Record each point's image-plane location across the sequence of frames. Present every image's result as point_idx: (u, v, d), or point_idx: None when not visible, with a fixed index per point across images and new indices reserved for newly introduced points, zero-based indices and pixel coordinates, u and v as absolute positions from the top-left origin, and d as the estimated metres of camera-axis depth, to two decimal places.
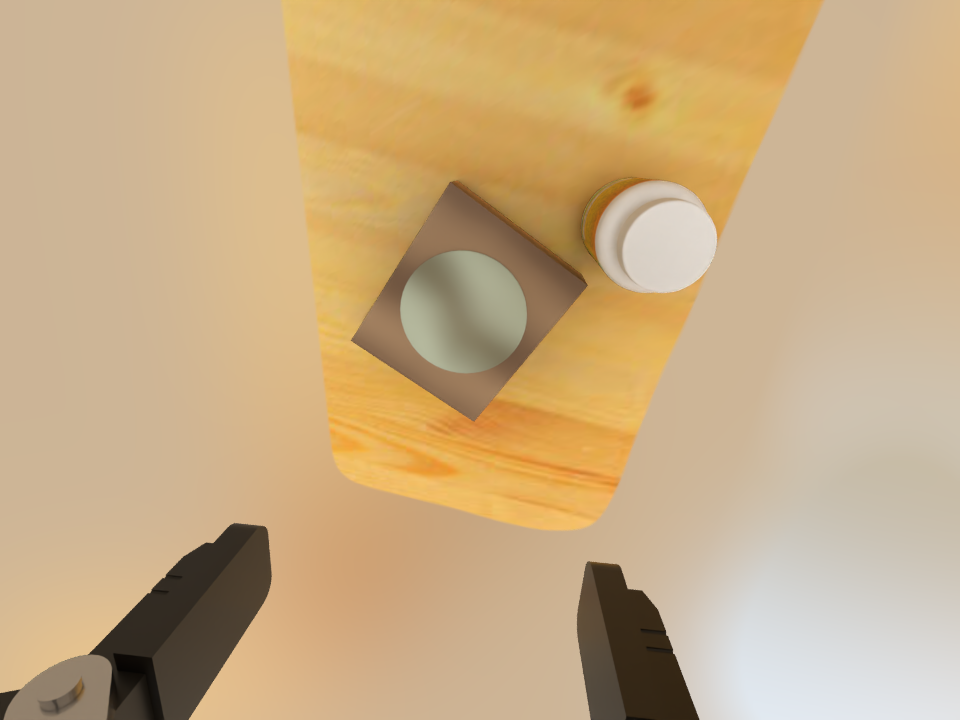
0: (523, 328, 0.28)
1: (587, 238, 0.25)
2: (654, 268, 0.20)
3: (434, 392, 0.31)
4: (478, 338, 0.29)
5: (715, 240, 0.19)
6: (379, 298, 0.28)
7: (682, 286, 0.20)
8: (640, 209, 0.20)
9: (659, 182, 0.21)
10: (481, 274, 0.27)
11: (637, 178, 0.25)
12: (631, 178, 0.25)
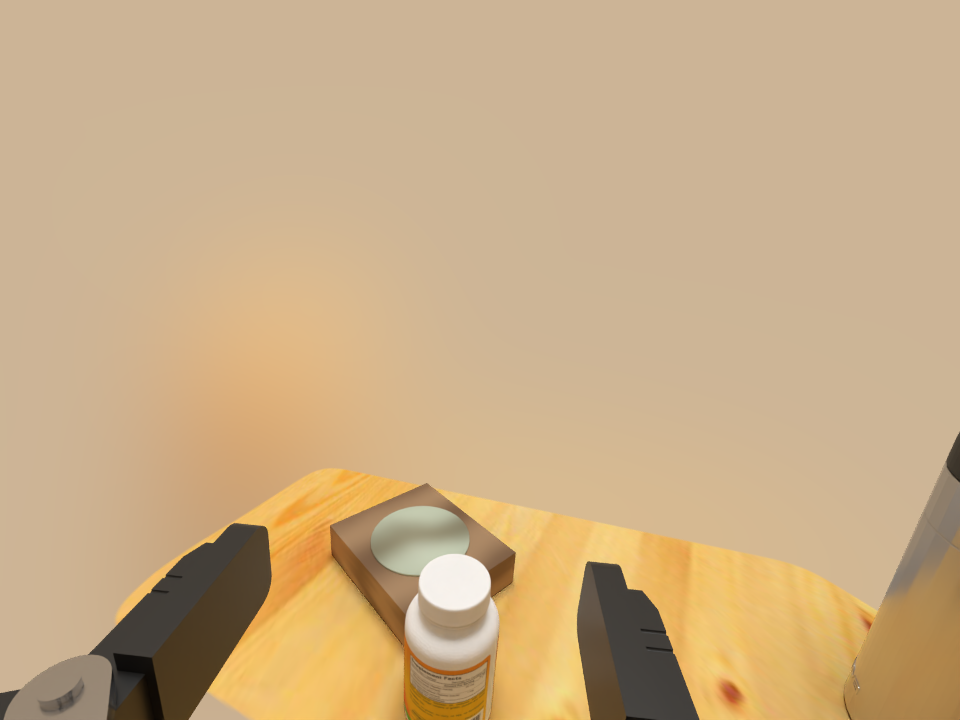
0: (394, 568, 0.33)
1: None
2: (443, 569, 0.25)
3: (368, 510, 0.40)
4: (398, 541, 0.36)
5: (452, 608, 0.23)
6: (449, 501, 0.42)
7: (421, 584, 0.24)
8: None
9: (498, 625, 0.25)
10: (447, 553, 0.35)
11: (493, 682, 0.26)
12: (493, 687, 0.27)
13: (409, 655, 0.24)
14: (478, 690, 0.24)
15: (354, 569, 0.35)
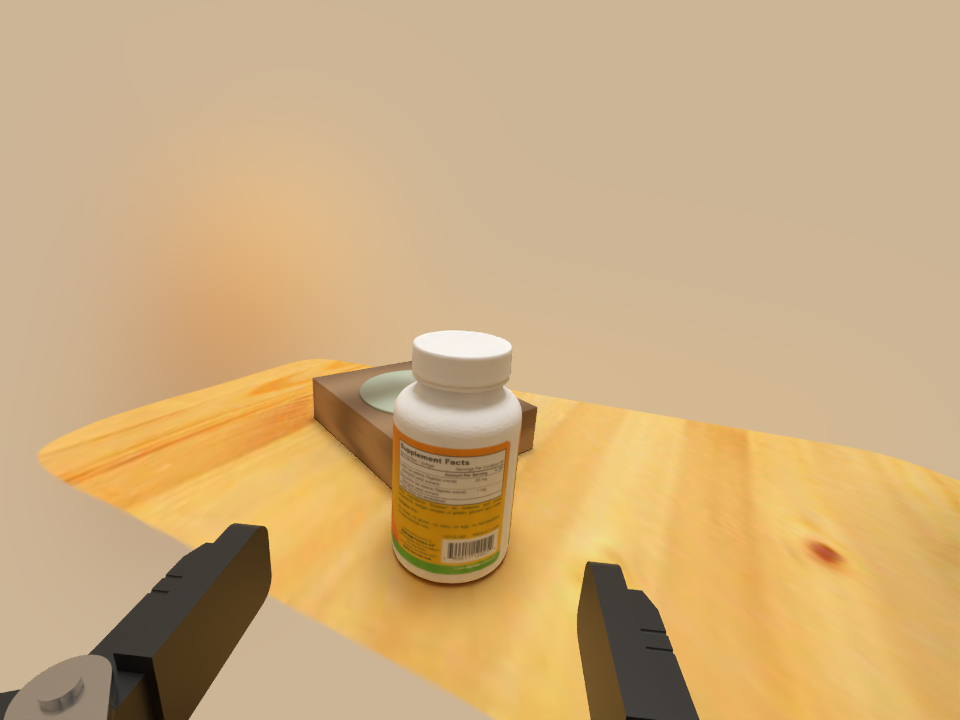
0: (386, 409, 0.27)
1: None
2: (446, 336, 0.19)
3: (359, 370, 0.33)
4: (394, 391, 0.30)
5: (459, 355, 0.16)
6: None
7: (417, 341, 0.18)
8: None
9: (520, 412, 0.18)
10: None
11: (512, 506, 0.20)
12: (511, 515, 0.20)
13: (398, 443, 0.18)
14: (492, 493, 0.18)
15: (338, 420, 0.29)
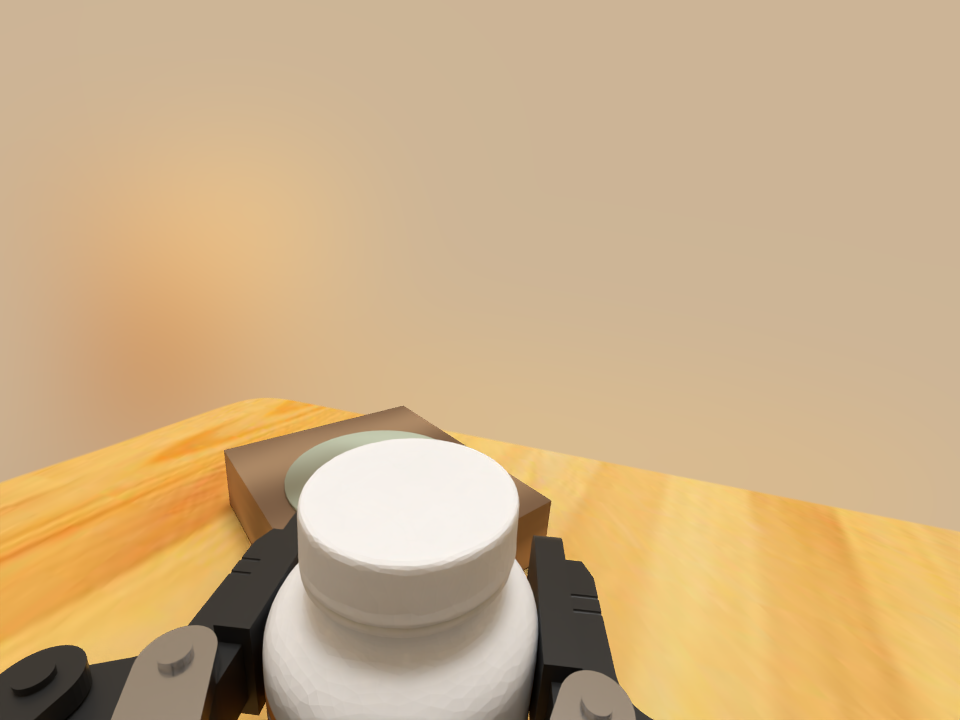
0: None
1: None
2: (382, 465, 0.09)
3: (298, 433, 0.24)
4: None
5: (389, 560, 0.06)
6: (436, 428, 0.25)
7: (307, 493, 0.08)
8: None
9: (536, 630, 0.09)
10: None
11: None
12: None
13: None
14: None
15: (252, 522, 0.19)
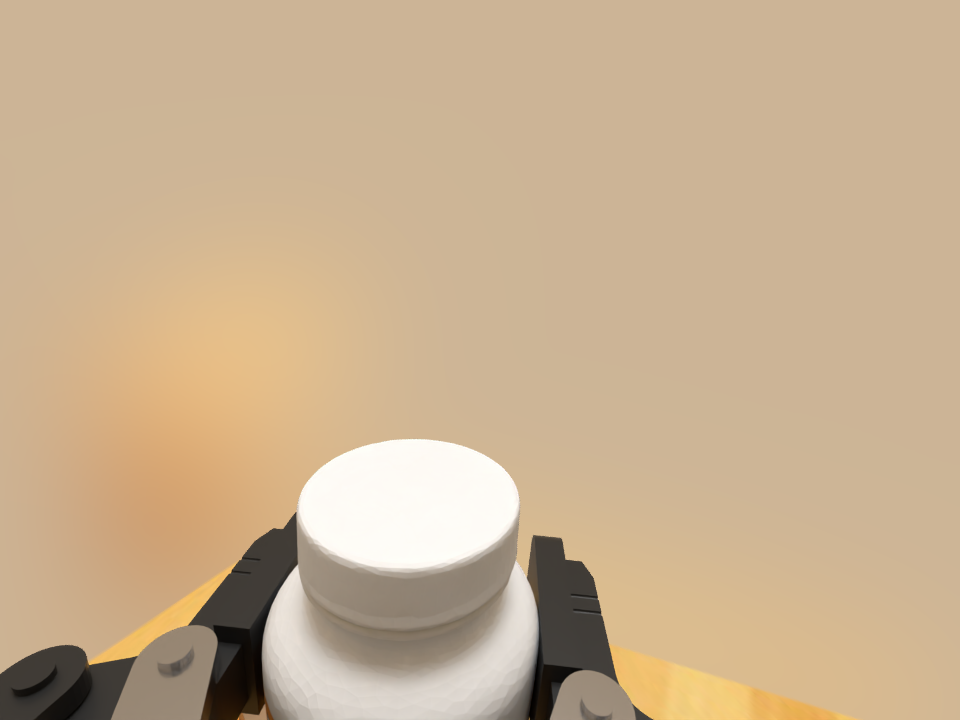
0: None
1: None
2: (382, 466, 0.09)
3: None
4: None
5: (389, 563, 0.06)
6: None
7: (307, 495, 0.08)
8: None
9: (537, 632, 0.09)
10: None
11: None
12: None
13: None
14: None
15: None
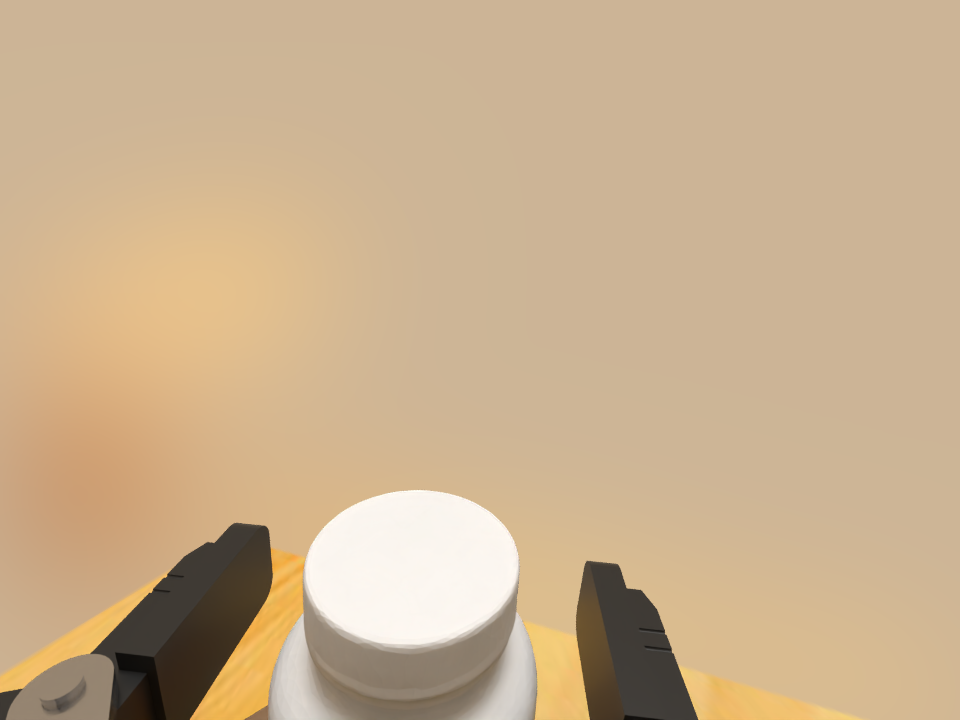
0: None
1: None
2: (385, 523, 0.09)
3: (264, 713, 0.15)
4: None
5: (393, 639, 0.07)
6: None
7: (313, 559, 0.08)
8: None
9: (535, 687, 0.09)
10: None
11: None
12: None
13: None
14: None
15: None
